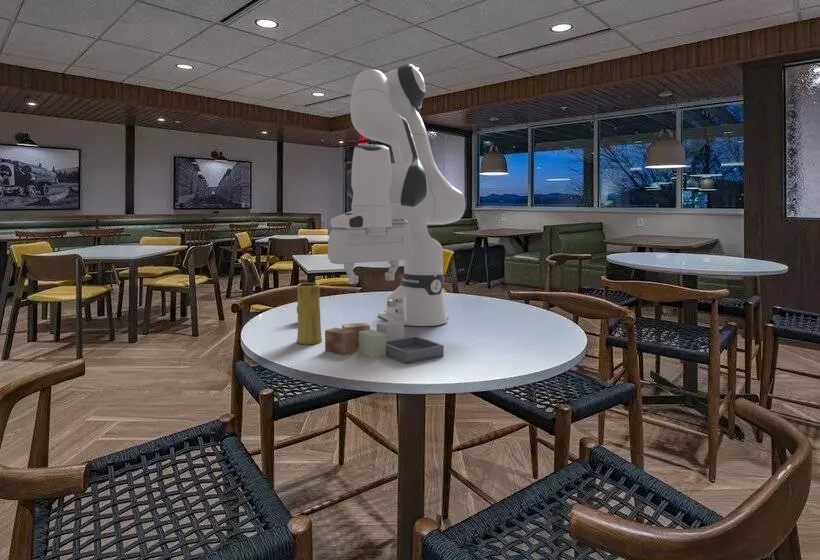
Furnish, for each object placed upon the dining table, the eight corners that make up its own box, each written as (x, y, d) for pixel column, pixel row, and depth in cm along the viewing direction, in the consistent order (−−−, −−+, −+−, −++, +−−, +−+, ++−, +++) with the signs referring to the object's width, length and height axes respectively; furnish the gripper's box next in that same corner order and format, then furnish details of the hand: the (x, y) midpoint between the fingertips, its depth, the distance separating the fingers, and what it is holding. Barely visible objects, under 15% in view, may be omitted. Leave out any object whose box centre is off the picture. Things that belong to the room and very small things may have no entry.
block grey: (386, 346, 124) (386, 326, 124) (376, 343, 127) (376, 323, 126) (403, 341, 129) (404, 322, 128) (394, 339, 131) (394, 320, 130)
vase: (310, 346, 124) (308, 287, 122) (291, 342, 127) (289, 284, 125) (326, 340, 129) (326, 283, 127) (308, 337, 132) (307, 281, 130)
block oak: (345, 348, 123) (345, 327, 122) (342, 344, 126) (341, 324, 125) (370, 345, 125) (370, 325, 124) (365, 342, 128) (365, 322, 127)
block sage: (359, 352, 119) (358, 331, 118) (371, 350, 121) (371, 329, 120) (373, 358, 114) (373, 336, 114) (386, 356, 116) (386, 334, 116)
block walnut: (325, 351, 120) (324, 330, 119) (335, 348, 123) (335, 327, 122) (345, 355, 116) (344, 334, 116) (355, 352, 119) (354, 331, 119)
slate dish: (380, 352, 118) (380, 342, 118) (416, 346, 124) (416, 336, 124) (406, 364, 110) (406, 352, 110) (443, 356, 116) (443, 345, 116)
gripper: (402, 218, 122) (402, 277, 124) (323, 219, 110) (324, 284, 112) (418, 219, 117) (418, 280, 119) (338, 220, 105) (338, 287, 107)
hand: (372, 282), depth 115 cm, fingers open, 8 cm apart
